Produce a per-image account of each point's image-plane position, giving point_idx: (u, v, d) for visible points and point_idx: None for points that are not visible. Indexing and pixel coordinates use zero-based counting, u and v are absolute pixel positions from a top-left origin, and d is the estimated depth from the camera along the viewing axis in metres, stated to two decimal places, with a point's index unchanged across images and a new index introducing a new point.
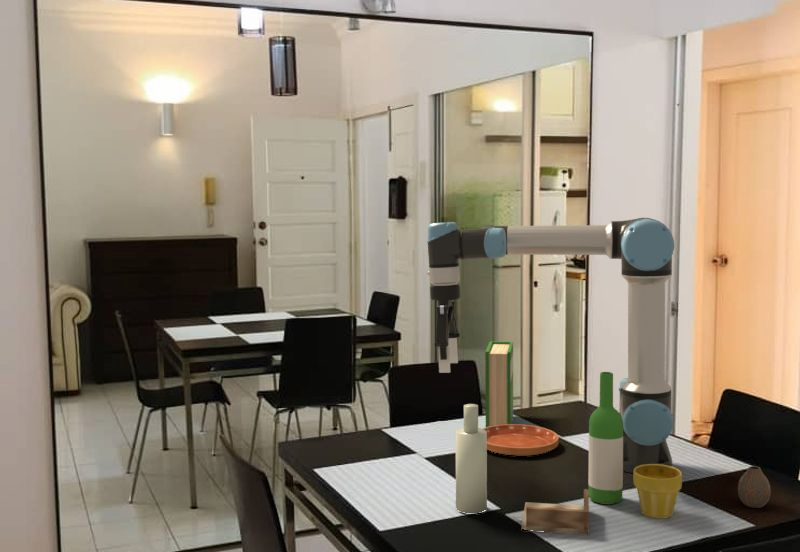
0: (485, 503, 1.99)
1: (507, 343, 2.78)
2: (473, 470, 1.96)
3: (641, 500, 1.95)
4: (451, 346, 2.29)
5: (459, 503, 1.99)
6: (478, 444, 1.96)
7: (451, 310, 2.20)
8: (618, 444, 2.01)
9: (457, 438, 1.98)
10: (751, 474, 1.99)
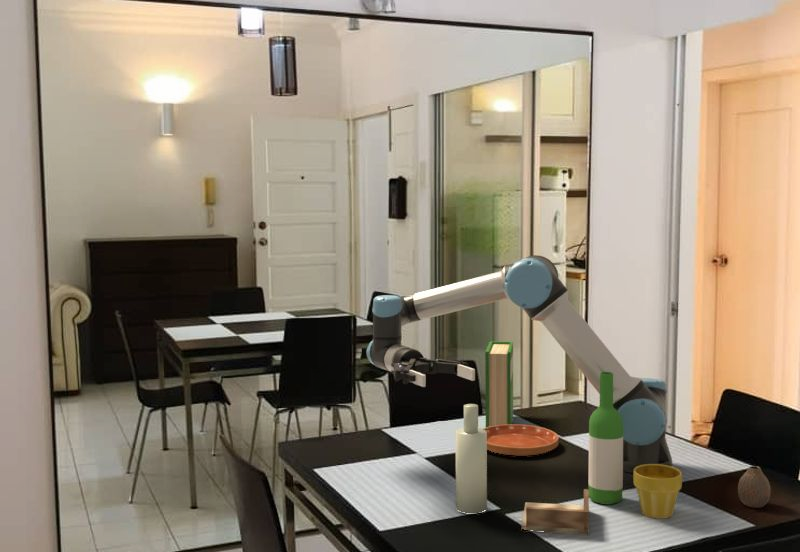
0: (485, 503, 1.99)
1: (507, 343, 2.78)
2: (472, 470, 1.96)
3: (641, 500, 1.95)
4: (462, 372, 2.13)
5: (459, 503, 1.99)
6: (478, 444, 1.96)
7: (410, 360, 2.18)
8: (618, 444, 2.01)
9: (457, 438, 1.98)
10: (751, 474, 1.99)
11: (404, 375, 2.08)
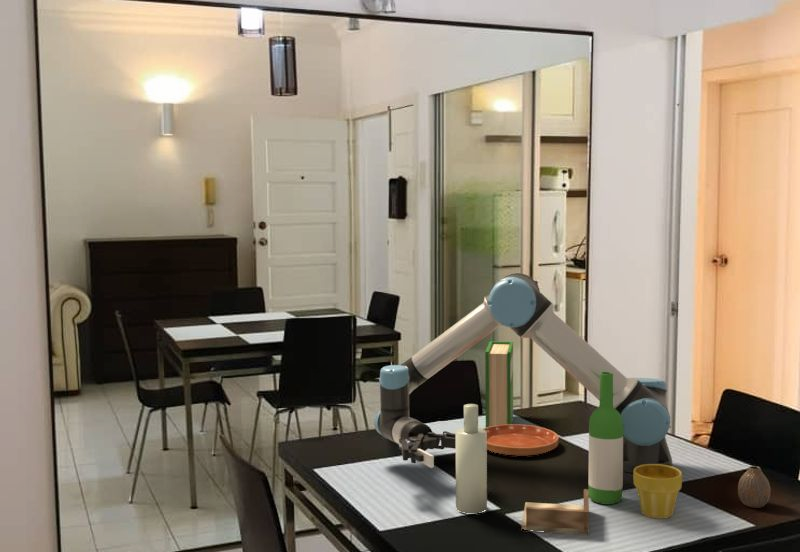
0: (485, 503, 1.99)
1: (507, 343, 2.78)
2: (472, 470, 1.96)
3: (641, 500, 1.95)
4: None
5: (459, 503, 1.99)
6: (478, 444, 1.96)
7: (418, 436, 2.16)
8: (618, 444, 2.01)
9: (457, 438, 1.98)
10: (751, 474, 1.99)
11: (412, 454, 2.06)
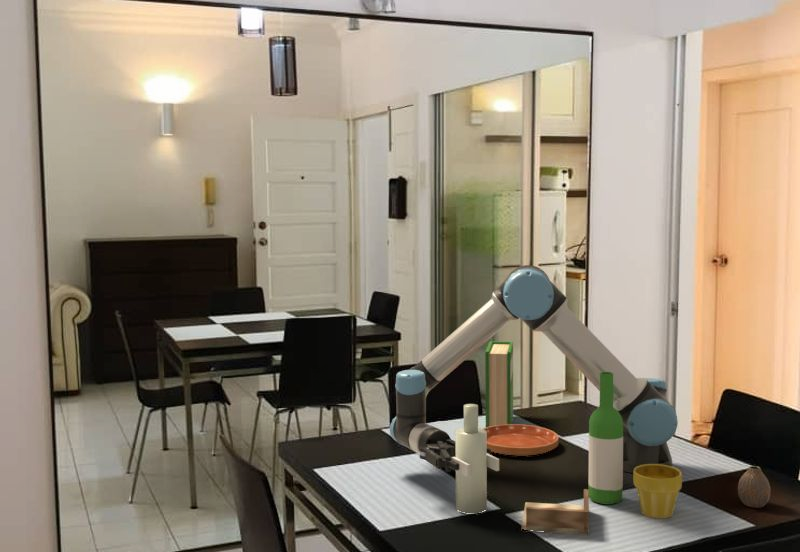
0: (485, 503, 1.99)
1: (507, 343, 2.78)
2: (472, 470, 1.96)
3: (641, 500, 1.95)
4: None
5: (459, 503, 1.99)
6: (478, 444, 1.96)
7: (437, 443, 2.08)
8: (618, 444, 2.01)
9: (457, 438, 1.98)
10: (751, 474, 1.99)
11: (447, 463, 1.98)
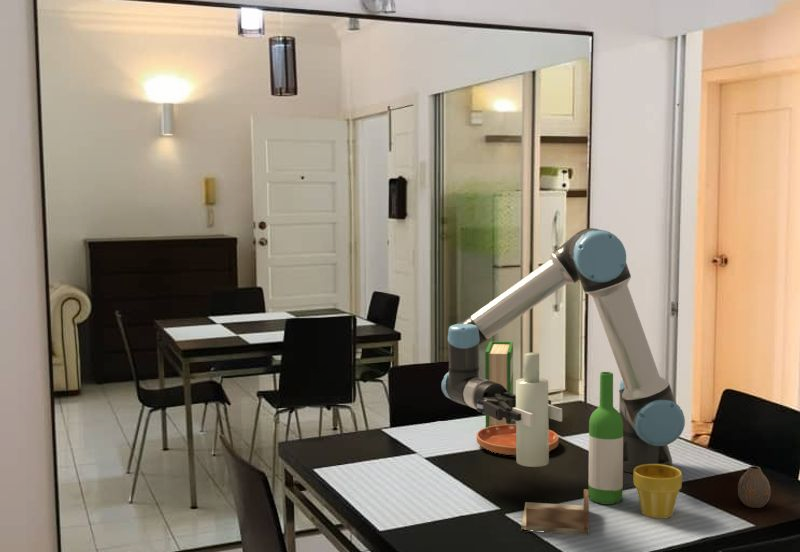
0: (547, 455, 1.92)
1: (507, 343, 2.78)
2: (535, 420, 1.89)
3: (641, 500, 1.95)
4: None
5: (520, 455, 1.91)
6: (540, 393, 1.89)
7: (495, 396, 2.01)
8: (618, 444, 2.01)
9: (518, 387, 1.90)
10: (751, 474, 1.99)
11: (507, 413, 1.91)
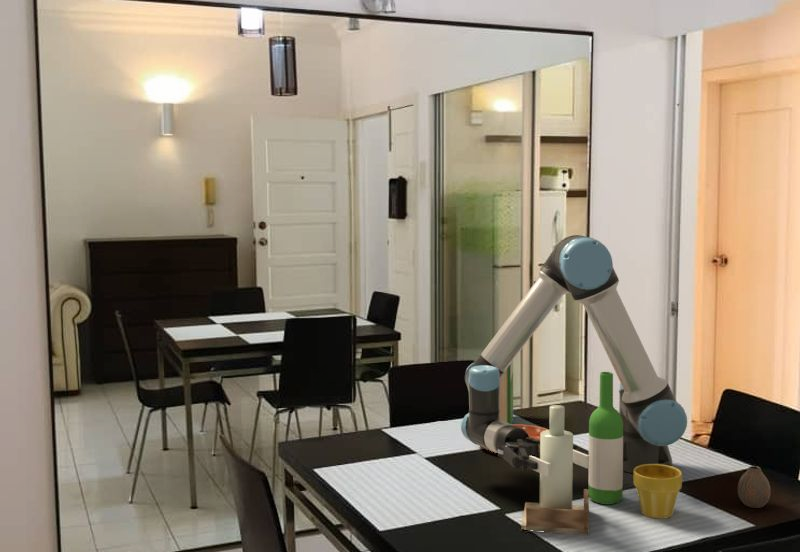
0: (571, 508, 1.91)
1: None
2: (559, 474, 1.89)
3: (641, 500, 1.95)
4: (573, 457, 1.94)
5: None
6: (565, 447, 1.88)
7: (517, 441, 2.01)
8: (618, 444, 2.01)
9: (543, 441, 1.90)
10: (751, 474, 1.99)
11: (524, 462, 1.90)
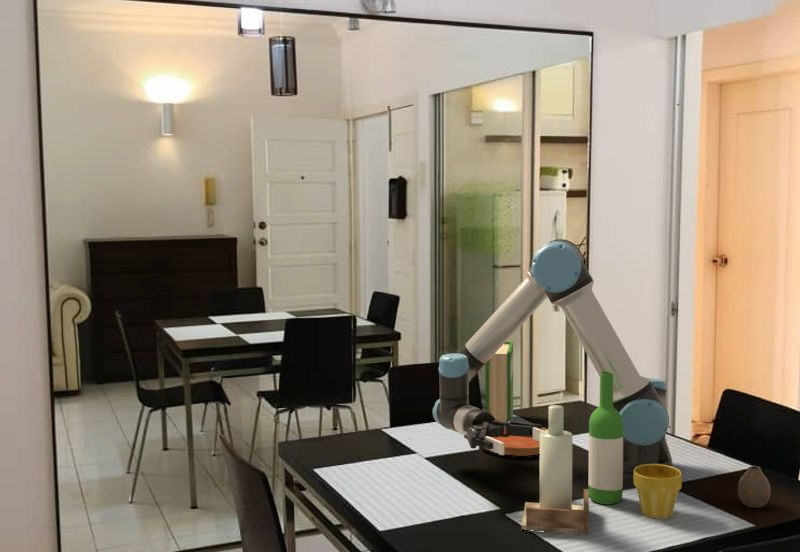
0: (571, 508, 1.91)
1: (507, 343, 2.78)
2: (559, 474, 1.89)
3: (641, 500, 1.95)
4: (538, 435, 2.08)
5: None
6: (565, 446, 1.88)
7: (483, 424, 2.12)
8: (618, 444, 2.01)
9: (542, 441, 1.90)
10: (751, 474, 1.99)
11: (480, 442, 2.02)
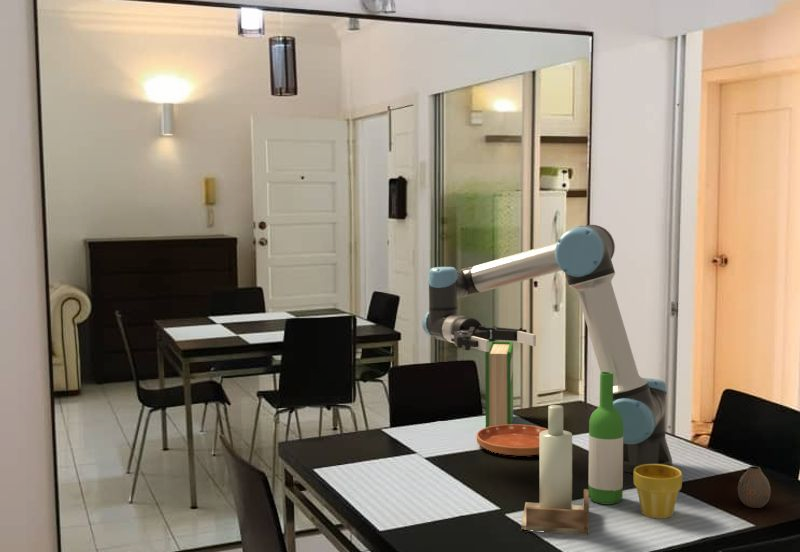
0: (571, 508, 1.91)
1: (507, 343, 2.78)
2: (559, 474, 1.89)
3: (641, 500, 1.95)
4: (522, 338, 2.16)
5: None
6: (564, 446, 1.88)
7: (469, 328, 2.21)
8: (618, 444, 2.01)
9: (542, 440, 1.90)
10: (751, 474, 1.99)
11: (466, 341, 2.10)
